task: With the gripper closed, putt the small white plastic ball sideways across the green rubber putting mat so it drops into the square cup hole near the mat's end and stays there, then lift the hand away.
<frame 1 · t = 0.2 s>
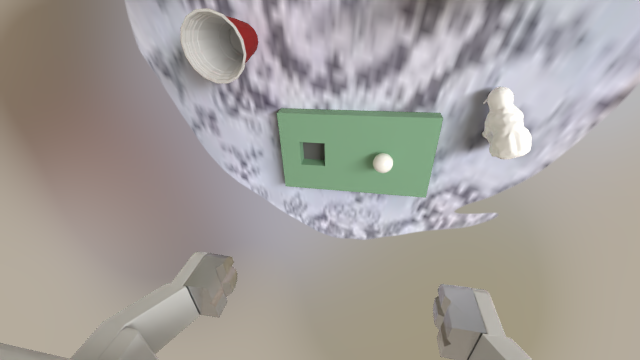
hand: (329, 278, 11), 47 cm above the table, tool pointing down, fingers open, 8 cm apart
plastic cup: (244, 40, 52), on the table
ball: (382, 163, 55), point 5 cm above the table, touching green
green: (355, 150, 60), on the table
penguin figurine: (496, 114, 51), on the table
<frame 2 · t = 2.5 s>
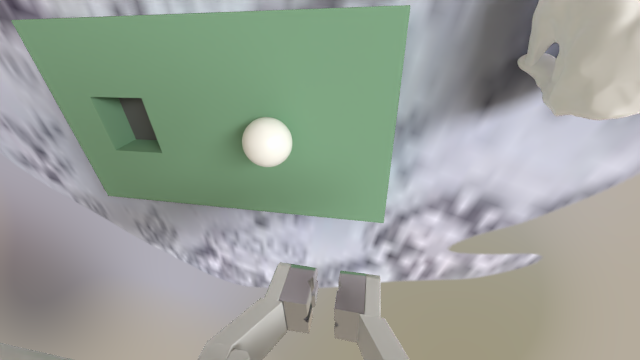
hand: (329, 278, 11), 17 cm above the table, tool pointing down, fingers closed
ball: (267, 142, 22), point 5 cm above the table, touching green
green: (228, 118, 27), on the table
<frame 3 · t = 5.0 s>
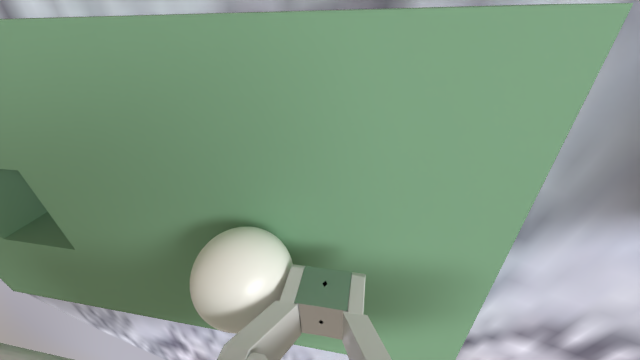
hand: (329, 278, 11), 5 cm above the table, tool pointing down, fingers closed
ball: (244, 276, 11), point 5 cm above the table, touching green, gripper
green: (186, 192, 16), on the table
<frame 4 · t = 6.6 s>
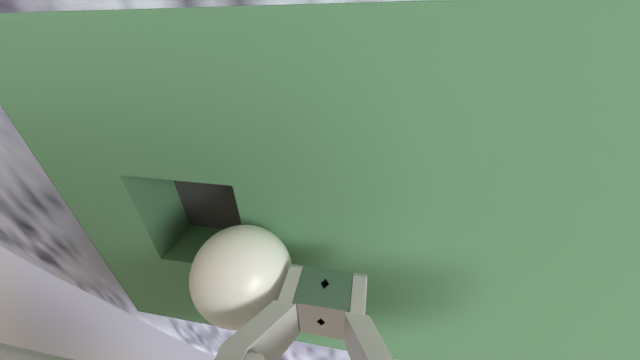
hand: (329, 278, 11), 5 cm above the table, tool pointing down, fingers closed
ball: (243, 274, 11), point 5 cm above the table, tilted 34°, touching green
green: (379, 207, 14), on the table
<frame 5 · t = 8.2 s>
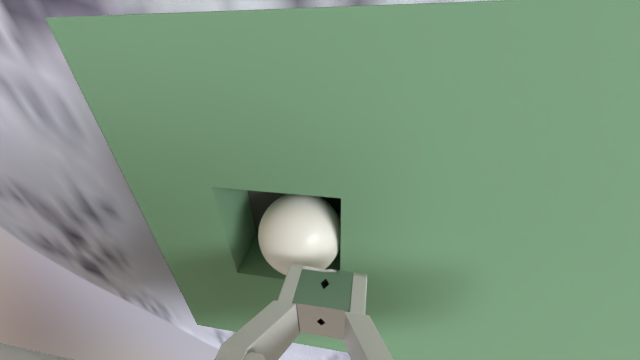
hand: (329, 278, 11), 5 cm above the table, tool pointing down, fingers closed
ball: (300, 233, 13), point 2 cm above the table, tilted 70°, touching green
green: (474, 218, 13), on the table
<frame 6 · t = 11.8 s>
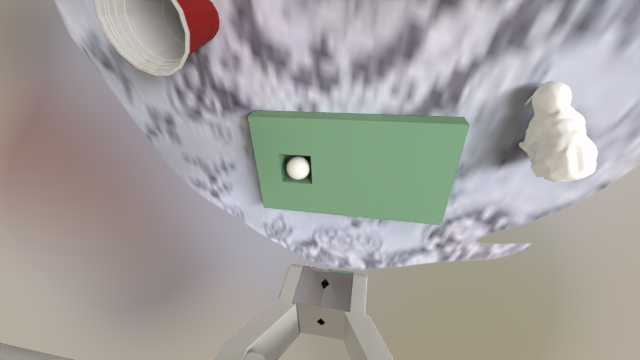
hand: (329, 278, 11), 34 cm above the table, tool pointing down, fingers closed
plastic cup: (201, 19, 39), on the table
ball: (298, 168, 46), point 2 cm above the table, tilted 83°, touching green
green: (350, 164, 47), on the table
penguin figurine: (540, 118, 38), on the table
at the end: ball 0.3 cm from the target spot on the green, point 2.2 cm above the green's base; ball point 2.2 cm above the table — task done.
